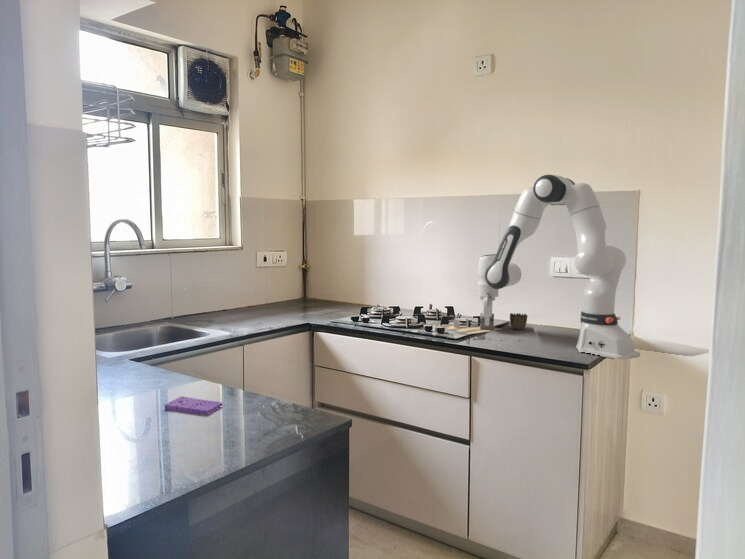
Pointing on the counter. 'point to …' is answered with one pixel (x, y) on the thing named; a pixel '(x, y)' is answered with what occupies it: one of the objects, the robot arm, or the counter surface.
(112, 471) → the counter surface
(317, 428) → the counter surface
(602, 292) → the robot arm
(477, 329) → the board
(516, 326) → the cup
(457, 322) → the shaft
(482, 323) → the grey cube
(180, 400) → the sponges
